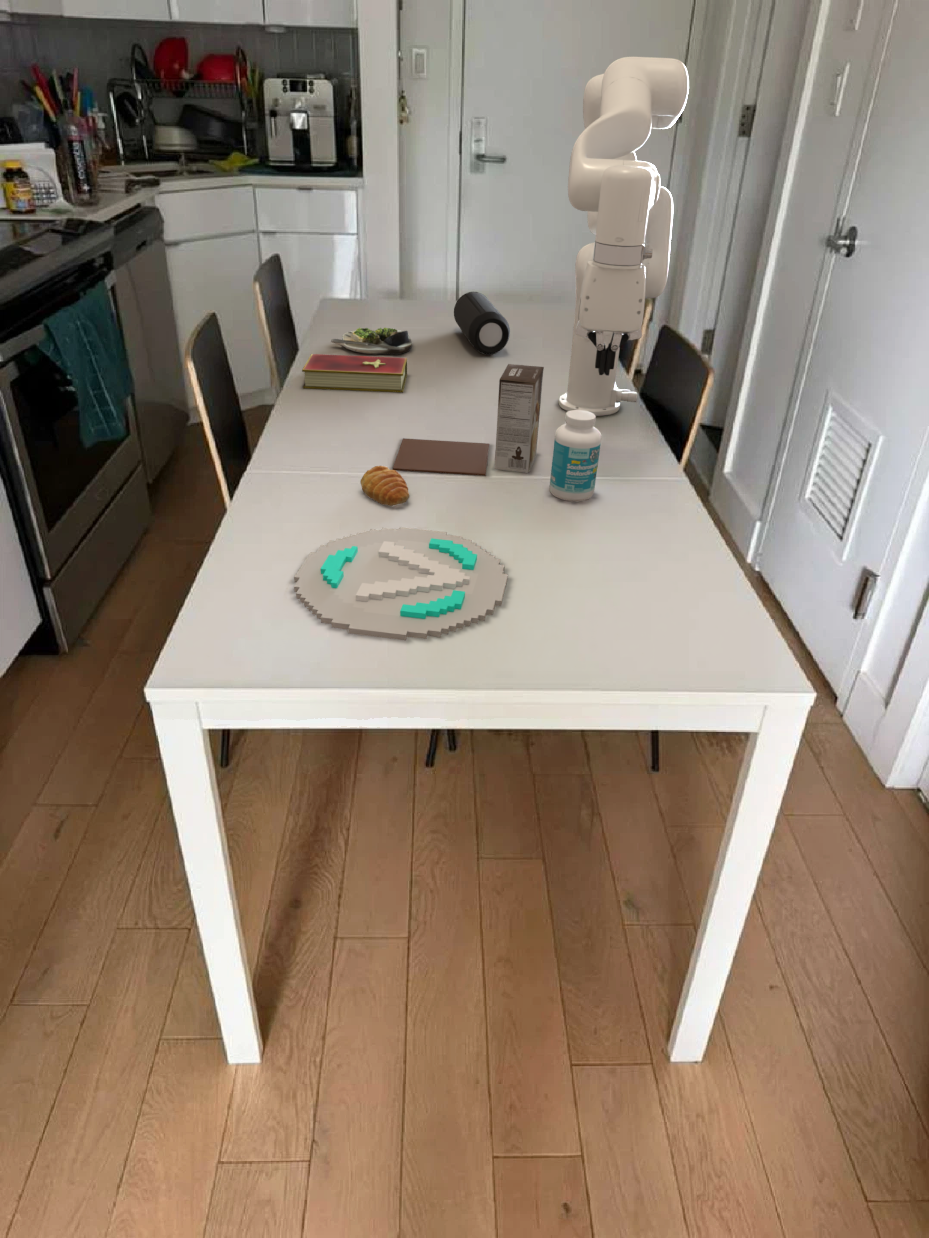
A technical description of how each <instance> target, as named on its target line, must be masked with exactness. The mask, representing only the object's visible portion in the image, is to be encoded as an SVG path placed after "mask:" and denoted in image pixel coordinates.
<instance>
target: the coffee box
mask: <svg viewBox="0 0 929 1238" xmlns="http://www.w3.org/2000/svg"><path fill="white" fill-rule="evenodd" d="M544 368H545V367H544V366H537V365H527V364H526V365H525V364H512V363H508V364H507V366H506V367H505V369H504V370H503V373H502V374H501V376H500V378H499V381H498V383H499V384H498V400H497V417H496V418H497V419H496V433H495V434H496V436H495V450H494V452H495V453H494V469H495V470H500V471H508V472H515V473H516V472H517V473H526V474H529V473H530V471H531V469H532V467H533V463H534V461H535V458H536V456H537V450H538V439H539V426H540V413H541V402H542V391H543V378H544V370H545V369H544Z"/></svg>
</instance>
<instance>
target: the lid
mask: <svg viewBox="0 0 929 1238" xmlns="http://www.w3.org/2000/svg"><path fill="white" fill-rule="evenodd" d="M504 572H505V564H501V558H496V555H494V554H493V555H492V554H491V552H490V551H487V549H486V548H482V545H477V542H473V539H467V538H463V536H462V535H454V534H448V532H447V531H441V530H432V529H431V530H430V529H422V528H414V527H413V528H412V527H402V526H399V527H398V528H389V527H382V528H381V529H377V528H375V529H374V528H370V529H369V530H363V531H362V532H356V534H349V536H345V535H344V536H343V537H342V538H339V537H337V538H336V539H335V540H332V539H330V540H329V541H328V543H327V544H320V546H319V547H318V549H317V550H316V552H314V551H310V552H309V554H308V555H307V556H306V558H305V560H304V561H303V563H302V564H301V566H300V567H299V569H298V570H297V572H296V573H295V575H294V576H293V580H294V583H295V584H294V586H293V589H294V593H295V598H296V600H299V601H300V603H301V604H303V605H304V607H305V608H306V607H307V609H308V611H311V612H312V615H314V616H316V619H317V620H318V619H319V620H320V623H321V624H330V625H331V628H332V629H340V630H348V634H352V635H358V636H367V637H374V638H375V637H376V638H383V639H392V640H398V641H399V640H400V641H407V639H408V638H414V639H422V640H427V638H428V636H429V637H436V638H441V636H442V635H449V632H457V629H459V630H463V629H464V627H471V624H478V622H479V621H481V622H485V620H486V617H487V615H489V616H493V614H494V610H495V607H502V604H503V601H504V596H505V592H506V588H507V584H508V579H509V574H508V573H504Z"/></svg>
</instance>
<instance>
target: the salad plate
mask: <svg viewBox="0 0 929 1238" xmlns="http://www.w3.org/2000/svg"><path fill="white" fill-rule="evenodd" d="M330 343H333V344H336V345H339V346H342V347H344V348H345V349H346V350H349V351H351V352H355V353H358V354H362V355H363V354H364V355H401V354H405V353H408V352H409V351H410V350H411V349H412V346H413V341H412V339H411V336H410V335H409V331H408V330H403V331H402V330H398V329H396V328H391V327H383V328H382V327H379V328H377V329H376V330H372V329H371V328H368V327H364V328H363V327H358V328H356V330H350V331H347V332H344V333H343V334H342V335H341V339H339V338H332V339H331V340H330Z"/></svg>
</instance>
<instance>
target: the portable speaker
mask: <svg viewBox="0 0 929 1238" xmlns="http://www.w3.org/2000/svg"><path fill="white" fill-rule="evenodd" d="M453 318H454V321H455V323H456V324H457V326H458V328H460V330H461V332H462V334H464V337H466V339H467V340H468V342H469V343H470V345H471V346H472V347H473V349H474V350H476V351H477V352H478V353H480V354H483V355H487V356H488V355H493V354H497V353H499V352H501V351H502V350H503V349H504V348H505V347H506V346H507V344H508V342H509V340H510V336H511V329H510V328H511V327H510V324H509V322H508V320H507V319H506V318H505V317H504V316H503V315H502V314H501V312H500V311H499V310H498V309H497V307H495V305H494V304H493V303H492V302H491V301H490V300H489V298H488V297H487V296H486V295H484V294H483V293H481V292H478V291H469V292H466V293H464V294H462V295H461V296H460V297H459V298H458V299H457V301H456V302H455V305H454V308H453Z"/></svg>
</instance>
